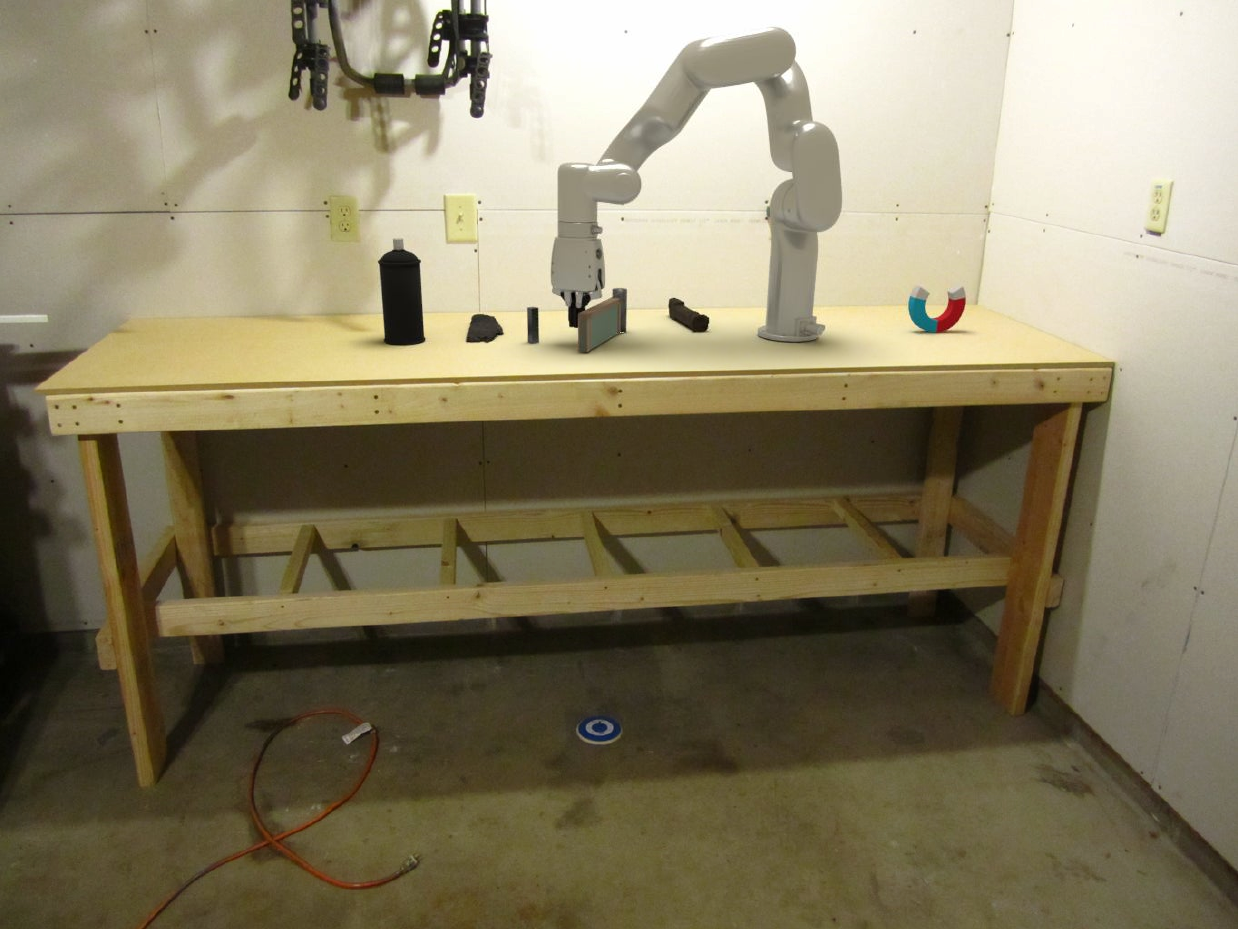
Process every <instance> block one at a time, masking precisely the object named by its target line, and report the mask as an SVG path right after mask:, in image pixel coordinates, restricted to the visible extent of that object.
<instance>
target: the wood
mask: <svg viewBox="0 0 1238 929" xmlns="http://www.w3.org/2000/svg"><path fill="white" fill-rule="evenodd" d="M470 320H471V321H470V323H469V327H468V328H467V334H466V340H465V341H466V343H470V344H476V343H481V342H482V343H483V342H484V343H486V344H489V342H492V341H494V340H495V338H496V336H503V335H505V332H504V329H503V327H502V326H501V324H499V322H498V320H497V318H496V317H495V316H494V315H493V316H492V315H489V314H485V313H477V314H473V315H472V316H471V317H470Z"/></svg>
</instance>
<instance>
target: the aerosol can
mask: <svg viewBox="0 0 1238 929" xmlns="http://www.w3.org/2000/svg"><path fill="white" fill-rule="evenodd" d="M392 247H393V249H392V250H390V251H388V252H386V253H384V254H383V255H382V256H381V257H380V259H379V260H378V261H377V263H378V265H379V277H380V290H381V291H380V292H381V304H382V318H383V320H382V322H383V332H384V333H383V334H384V338H383V342H384V343H385V344H387V345H391V346H392V345H394V346H411V345H417V344H422V343H424V342H425V341H426V337H425V330H424V329H425V328H424V325H425V324H424V312H423V297H422V296H423V295H422V294H423V293H422V279H421V278H422V277H421V263H422V260H421V259H419V258H418V256H417V255H416V254H415V253H413V252H412V251H408V250H407V249H405V248H404V238H401V237H400V238H399V237H397V238H396V237H395V238H392Z"/></svg>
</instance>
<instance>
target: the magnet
mask: <svg viewBox="0 0 1238 929" xmlns="http://www.w3.org/2000/svg"><path fill="white" fill-rule="evenodd" d="M946 293H947V297H948V299H947V300H948V302H947V306H946V308H945V310H944V311H943V312H942V313H941V314H940V315H939V316H937V317H930V316H929V315H928V314H927V310H926V309H927V308H926V304H927V300H928V299H929V298H928V297H929V295H930V292H929V291H927V289H925V288H923V287H922V286H921V285H919V284H915V285H914V287H913V288H912V289H911V292H910V295H909V298H908V306H907V309H908V314H909V316H910V319H911V321H912V323H913V324H914V325H915V326H916V327H917V328H919V329H921V330H923V331H925V332H927V333H931V334H932V333H933V334H939V333H940V334H941V333H943V332H946V331H948V330H950V329H952V328H953V327H954V326H955V325H956V324H957V323H958V322H959V321H960V319H961V317H962V316H963V314H964V311H965V307H966V304H967V303H966V302H967V300H966V299H967V298H966V297H967V296H966V290H965V287H964V286H963V285H961V284H956V285H954V286H953V287H951V288H949V289H948V290H947V291H946Z"/></svg>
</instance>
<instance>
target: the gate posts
mask: <svg viewBox="0 0 1238 929" xmlns="http://www.w3.org/2000/svg"><path fill="white" fill-rule="evenodd" d="M611 294H612V295H611V296H612V297H616V298H621V332H626V333H627V312H628V311H627V310H628V308H627V304H628V303H627V302H628V289H627V288H624V287H623V288H622V287H616V288H615V287H614V288H612V293H611ZM526 317H527V318H526V319H527V320H526V322H527V329H526V330H527V343H530V344H539V343H540V337H539V336H540V334H539V332H540V329H539V326H540V325H539V322H540V321H539V307H536V306H529V307H526Z"/></svg>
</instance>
